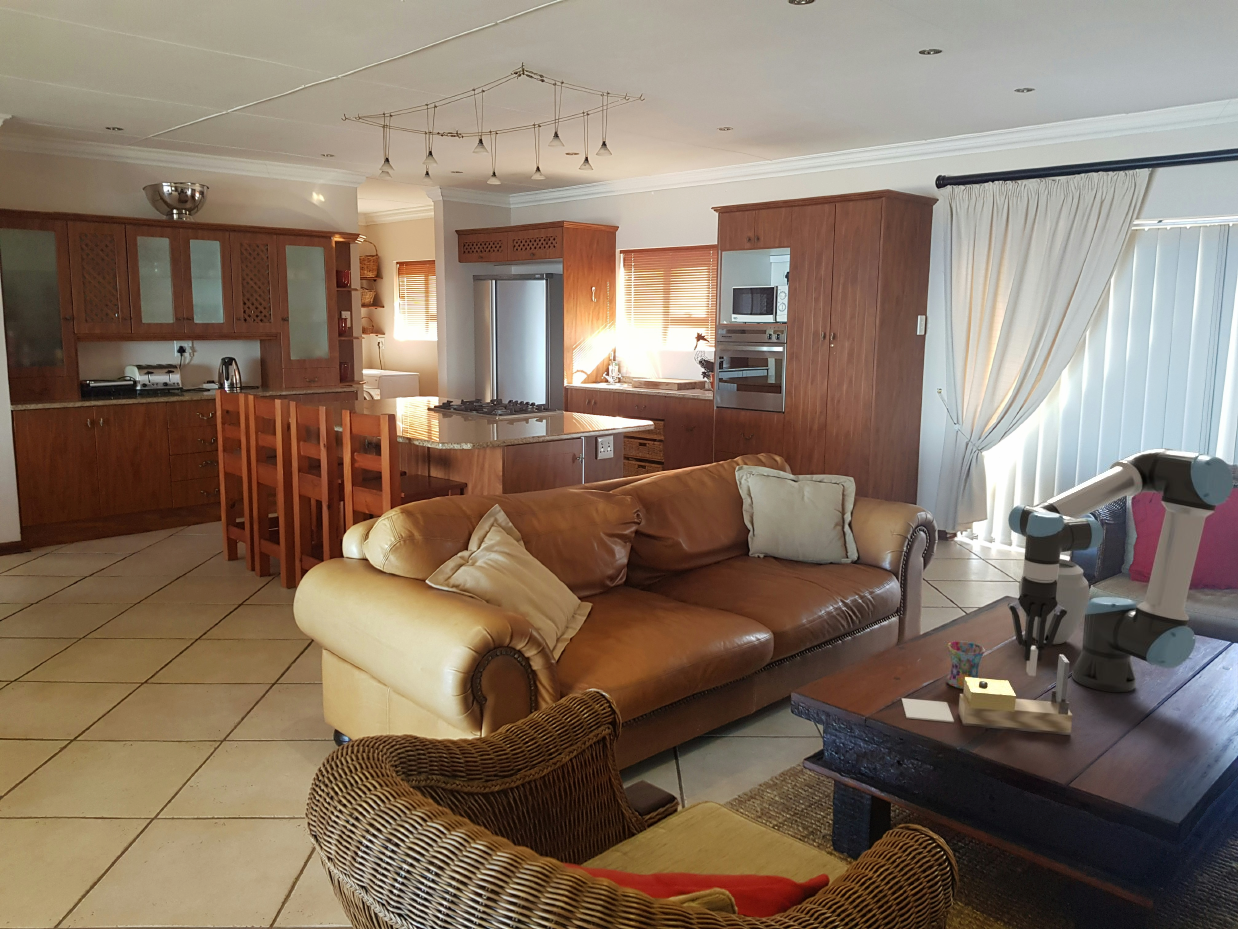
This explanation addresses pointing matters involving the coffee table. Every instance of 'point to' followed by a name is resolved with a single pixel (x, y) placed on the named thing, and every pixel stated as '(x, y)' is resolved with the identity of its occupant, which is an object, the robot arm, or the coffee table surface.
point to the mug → (964, 662)
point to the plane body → (1021, 716)
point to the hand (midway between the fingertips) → (1030, 673)
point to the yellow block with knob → (989, 694)
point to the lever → (1062, 679)
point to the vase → (1067, 600)
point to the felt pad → (927, 710)
